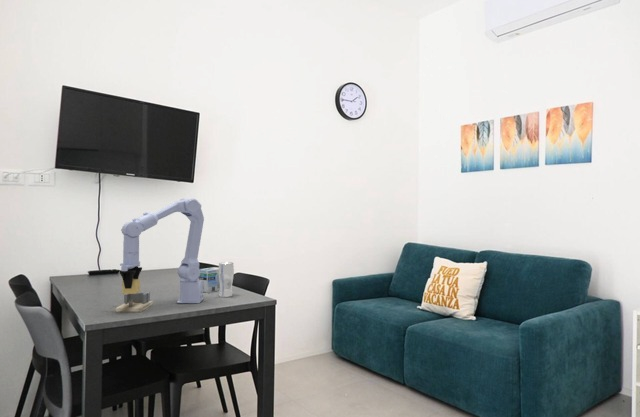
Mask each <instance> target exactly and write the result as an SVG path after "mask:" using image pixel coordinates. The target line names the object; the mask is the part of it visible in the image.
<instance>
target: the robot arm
mask: <svg viewBox="0 0 640 417" xmlns="http://www.w3.org/2000/svg"><path fill="white" fill-rule="evenodd" d="M175 213H181V214H182V215H184V216H185V217H186V218H188V220H189V222H190V224H189V228H188V229H189V230H188V236H187V241H186V248H185V253H184V257H183V258H182V260H181V263H180V266H178V268H177V275H178V277H179V299H178V300H177V302H176V304H200V303H202V301H203V300H204V292H203V282H202V281H199V276H200V270H199V269H200V262H199V260H198V257H199V250H200V245H201V238H202V233H203V229H204V221H205V217H204V214H203V210H202V203H200V202H199V200H197V199H196V198H181V199H179V200H176V201H174V202H172V203H170V204H168V205H167V206H165V207H162V208H161V209H160V210H157V211H155V212H150V211H149V212H146V211H145V212H144V213H143V214H142V215H141V216H139V217H137V218H132V221H128V222H125V223H124V224H123V225H122V227H121V228H120V229H121V230H120V231H121V233H122V235H123V241H122V243H123V245H122V246H123V250H122V253H123V254H122V258H123V259H122V263H120V264H119V266H121V268H120V269H119V272H118V273H119V274H120V276H121V278H122V281H123V282H124V286H125V289H130V288H131V287H132V281H133V279H139V277H140V274H141V272H142V271H143V267H142V266H141V261H140V235H141V234H142V233H144V232H145V231H147V230H149V229H151V228H152V227H154V226H156V225H158V222H159V220H161V219H164V218H167V217H168V216H170V215H172V214H175Z"/></svg>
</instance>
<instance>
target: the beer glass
mask: <svg viewBox="0 0 640 417" xmlns="http://www.w3.org/2000/svg"><path fill="white" fill-rule="evenodd" d="M234 267H235V266H234V262H231V261H229V262H227V261H226V262H225V261H223V262H219V263H218V267H217V268H218V277H219V284H220V291H218V292H219V294H218V297H220V298H229V297H230V298H231V297H233V290H232V289H233V280H234V274H235V268H234Z"/></svg>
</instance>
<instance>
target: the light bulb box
mask: <svg viewBox="0 0 640 417" xmlns="http://www.w3.org/2000/svg"><path fill="white" fill-rule="evenodd" d="M218 268H219V267H216V266H214V267H207V268H199V270H200V276H199V278H198V281H202V282H203V293H207V294H209V293H213V292H220V284H219V277H218Z"/></svg>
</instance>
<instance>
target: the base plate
mask: <svg viewBox="0 0 640 417" xmlns="http://www.w3.org/2000/svg"><path fill="white" fill-rule="evenodd" d="M153 302H154V301H153V300H150V301H149V302H146V303H142V302H133V300H129V302H128V303H124V302H123V303H122V304H121V305H119V306H117V307H115V309H114V311H115V313H117V312H118V313H119V312H123V313H125V312H132V313H133V312H138V313H139V312H143V311H144V310H146V309H148V308H149V307H151V306H152V305H153Z"/></svg>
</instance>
